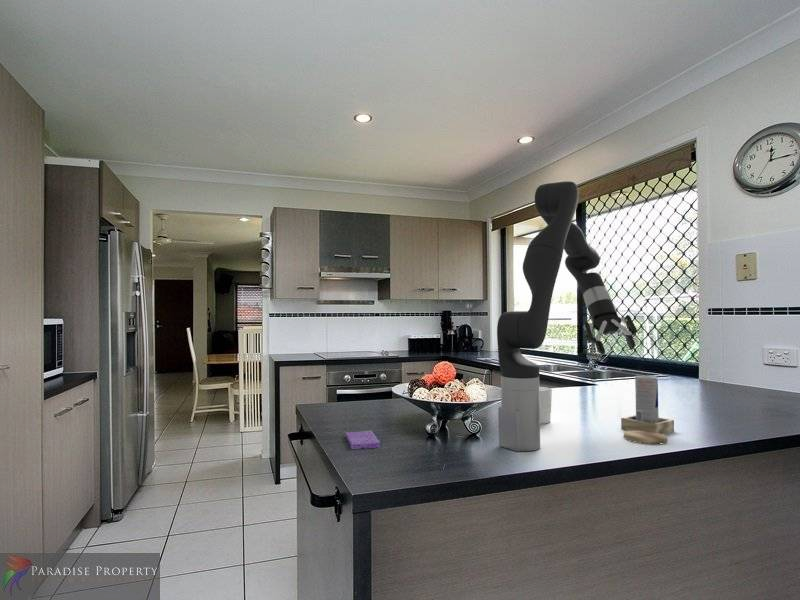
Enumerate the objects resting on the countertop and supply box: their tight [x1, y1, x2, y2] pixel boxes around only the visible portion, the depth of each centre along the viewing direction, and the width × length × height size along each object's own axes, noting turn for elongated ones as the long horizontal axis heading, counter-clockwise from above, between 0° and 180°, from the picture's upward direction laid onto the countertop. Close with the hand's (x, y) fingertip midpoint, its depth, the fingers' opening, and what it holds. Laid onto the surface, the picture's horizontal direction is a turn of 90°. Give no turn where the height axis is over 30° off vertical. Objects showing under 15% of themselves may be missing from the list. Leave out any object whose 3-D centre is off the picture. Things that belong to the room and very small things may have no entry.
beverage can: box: [634, 375, 660, 424], centre depth 132 cm, size 6×6×15 cm
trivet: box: [623, 430, 668, 445], centre depth 122 cm, size 10×10×1 cm
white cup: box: [539, 386, 553, 425], centre depth 143 cm, size 8×8×10 cm
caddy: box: [620, 414, 675, 435], centre depth 131 cm, size 10×10×3 cm
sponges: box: [345, 430, 381, 450], centre depth 120 cm, size 7×13×2 cm, turn 14°
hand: (618, 351), depth 138 cm, fingers open, 8 cm apart
